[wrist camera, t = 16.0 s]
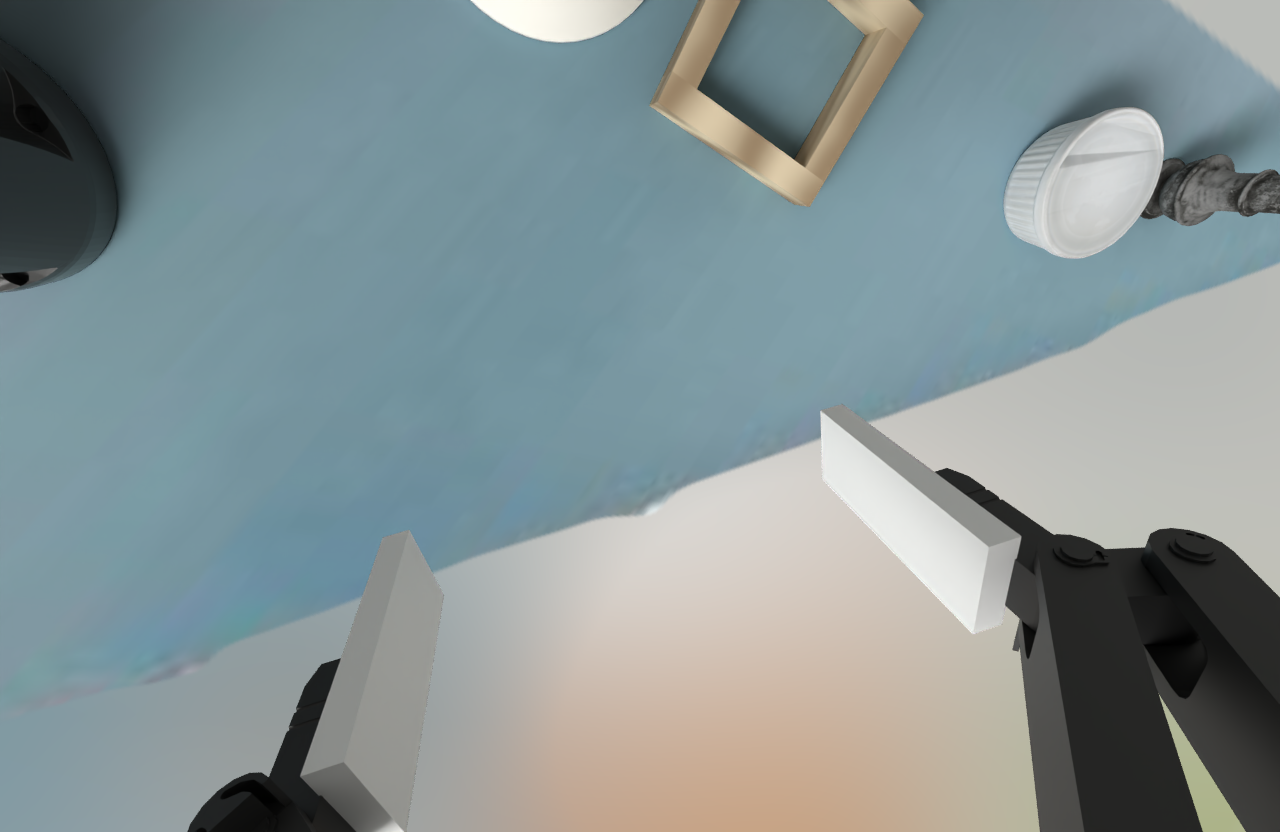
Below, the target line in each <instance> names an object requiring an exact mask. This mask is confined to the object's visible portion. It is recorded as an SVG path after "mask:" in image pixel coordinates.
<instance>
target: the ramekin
mask: <svg viewBox="0 0 1280 832" xmlns="http://www.w3.org/2000/svg"><path fill="white" fill-rule="evenodd" d="M1163 158H1164V142H1163V136H1162V133H1161V129H1160V127H1159V125H1158V123H1157V122H1156V120H1155V119H1154V118H1153V116H1151V115H1150V114H1149V113H1148V112H1146V111H1144V110H1142V109H1139V108H1135V107H1122V108H1114V109H1109V110H1106V111H1103V112H1101V113H1098V114H1096V115H1094V116H1092V117H1088V118H1084V119H1081V120H1078V121H1074V122H1070V123H1067V124H1063V125H1060V126H1058V127H1056V128H1054V129H1051V130H1050V131H1048V132H1047V133H1045V134H1043V135H1042V136H1041V137H1040V138H1038V139H1037V140H1036V141H1035V142H1034V143H1033V144H1032V145H1031V146H1030V147H1029V148H1028V149H1027V150H1026V151H1025V152H1024V153H1023V154H1022V156H1021V157H1020V158H1019V160H1018V161H1017V163H1016V165H1015V166H1014V168H1013V170H1012V172H1011V174H1010V177H1009V179H1008V182H1007V185H1006V189H1005V194H1004V214H1005V218H1006V221H1007V224H1008V226H1009V228H1010V230H1011V231H1012V232H1013V234H1015V235H1016V236H1017V237H1018V238H1020V239H1021V240H1023V241H1025V242H1028V243H1030V244H1033V245H1036V246H1038V247H1041V248H1044V249H1046V250H1047V251H1048V252H1050V253H1052V254H1054V255H1056V256H1059V257H1064V258H1073V259H1074V258H1084V257H1088V256H1091V255H1093V254H1096V253H1098V252H1100V251H1102V250H1104V249H1106V248H1107V247H1108V246H1111V245H1112V244H1114V243H1115V242H1116V241H1117V240H1118V239H1119V238H1121V237H1122V236H1123V235H1124V234H1125V233H1126V232H1127V230H1128V229H1129V228H1130V227H1131V226H1132V225H1133V224H1134V222H1135V221H1136V220H1137V219H1138V217H1139V216H1140V215H1141V213H1142V212H1143V210H1144V209H1145V207H1146V205H1147V204H1148V202H1149V200H1150V198H1151V196H1152V194H1153V192H1154V190H1155V187H1156V185H1157V182H1158V179H1159V176H1160V172H1161V168H1162V164H1163Z"/></svg>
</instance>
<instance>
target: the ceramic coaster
mask: <svg viewBox="0 0 1280 832" xmlns="http://www.w3.org/2000/svg"><path fill="white" fill-rule="evenodd" d="M470 1H471V2H472V3H473V4H474V5H475V6H477V7H478V8H479V9H480V10H481V11H482V12H484V13H485V14H486V15H487V16H489V17H490V18H491V19H493V20H494V21H495V22H497V23H499V24H500V25H502V26H504V27H506V28H507V29H509V30H511V31H513V32H515V33H518V34H520V35H523V36H525V37H528V38H531V39H535V40H539V41H543V42H552V43H572V42H579V41H584V40H588V39H592V38H594V37H597V36H599V35H601V34H604V33H606V32H608V31H609V30H611V29H613V28H614V27H616V26H618V25H619V24H620V23H621V22H623V21H624V20H625V19H626V18H627V17H629V16H630V15H631V14H632V13H633V12H634V11H635V10H636V8H637V7H638V6H639V5H640V4H641V3H642V2H643V0H470Z"/></svg>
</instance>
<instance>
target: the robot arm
mask: <svg viewBox="0 0 1280 832" xmlns="http://www.w3.org/2000/svg"><path fill="white" fill-rule="evenodd" d="M116 212H117V198H116V189H115V183H114V179H113V174H112V171H111V168H110V165H109V162H108V160H107V157H106V155H105V152H104V150H103V148H102V146H101V144H100V142H99V140H98V138H97V137H96V135H95V133H94V131H93V130H92V128H91V127H90V125H89V123H88V122H87V120H86V119H85V118H84V116H83V115H82V113H81V112H80V111H79V109H78V108H77V107H76V106H75V104H74V103H73V102H72V101H71V100H70V98H69V97H68V96H67V95H66V94H65V93H64V92H63V90H62V89H61V88H60V87H59V86H58V85H57V84H56V83H55V82H54V81H53V80H52V79H51V78H50V77H49V76H47V75H46V74H45V73H44V72H43V71H42V70H41V69H40V68H39V67H37V66H36V65H35V64H34V63H33V62H31V61H30V60H29V59H28V58H26V57H25V56H24V55H22V54H21V53H20V52H19V51H17V50H16V49H14V48H13V47H11V46H10V45H9V44H7V43H6V42H4V41H3V40H1V39H0V292H11V291H18V290H24V289H28V288H33V287H37V286H41V285H44V284H48V283H52V282H56V281H59V280H62V279H65V278H67V277H70V276H72V275H74V274H76V273H78V272H80V271H81V270H83V269H84V268H86V267H87V266H88V265H90V264H91V263H92V262H93V261H94V260H95V259H96V258H97V257H98V256H99V255H100V254H101V252H102V251H103V250H104V248H105V246H106V245H107V243H108V241H109V239H110V237H111V234H112V232H113V229H114V225H115V220H116ZM821 448H822V480H823V481H824V482H825V483H827V485H828V486H829V487H830V488H831V489H832V490H833V491H834V492H835V493H836V494H837V495H838V496H839V497H840V498H841V499H842V500H843V501H844V502H845V503H846V504H847V505H848V506H849V507H850V508H851V509H852V510H853V511H854V513H855V514H856V515H857V516H858V517H859V518H860V519H861V520H862V521H863V522H864V523H865V524H866V525H867V526H868V527H869V528H870V529H871V530H872V531H873V532H874V533H875V534H876V535H877V536H878V537H879V538H880V539H881V540H882V541H883V542H884V543H885V544H886V545H887V547H889V549H890V550H891V551H892V552H893V553H894V554H895V555H896V556H897V557H898V558H899V559H900V560H901V561H902V562H903V563H904V564H905V565H906V566H907V567H908V568H909V569H910V570H911V571H912V572H913V573H914V574H915V575H916V576H917V577H918V578H919V579H920V580H921V581H922V583H923V584H924V585H925V586H926V587H927V588H928V589H929V590H930V591H931V592H932V593H933V594H934V595H935V596H936V597H937V598H938V599H939V600H940V601H941V602H942V603H943V604H944V605H945V606H946V607H947V608H948V609H949V610H950V611H951V612H952V613H953V614H954V615H955V617H957V619H958V620H959V621H960V622H961V623H962V624H963V625H964V626H965V627H966V628H967V629H968V630H969V631H970V632H971V633H972V634H976V633H979V632H981V631H984V630H987V629H990V628H993V627H996V626H999V625H1002V622H1003V618H1004V614H1005V609H1006V606H1007V607H1008V608H1009V609H1010V610H1011V611H1012V612H1013V613H1014V614H1015V615H1017V616H1018V617H1019V618H1020V620H1019V624H1018V629H1017V633H1016V637H1015V641H1014V646H1013V650H1014V651H1019V647H1020V653H1021V662H1022V671H1023V680H1024V690H1025V699H1026V708H1027V716H1028V726H1029V735H1030V745H1031V754H1032V762H1033V771H1034V781H1035V790H1036V799H1037V808H1038V818H1039V827H1040V832H1203V831H1202V828H1201V825H1200V822H1199V819H1198V816H1197V812H1196V809H1195V806H1194V803H1193V800H1192V797H1191V794H1190V790H1189V787H1188V784H1187V781H1186V778H1185V775H1184V772H1183V769H1182V766H1181V762H1180V759H1179V756H1178V753H1177V750H1176V747H1175V744H1174V741H1173V738H1172V734H1171V731H1170V729H1169V725H1168V722H1167V719H1166V716H1165V713H1164V710H1163V707H1162V703H1161V701H1160V697H1159V695H1160V696H1161V698H1162V699H1163V701H1164V703H1165V704H1166V706H1167V707H1168V709H1169V710H1170V712H1171V714H1172V715H1173V717H1174V718H1175V720H1176V722H1177V723H1178V725H1179V726H1180V728H1181V729H1182V731H1183V733H1184V734H1185V736H1186V737H1187V739H1188V741H1189V742H1190V744H1191V745H1192V747H1193V749H1194V750H1195V752H1196V753H1197V754H1198V756H1199V758H1200V759H1201V761H1202V763H1203V764H1204V766H1205V767H1206V769H1207V770H1208V772H1209V774H1210V775H1211V777H1212V778H1213V780H1214V782H1215V783H1216V785H1217V786H1218V788H1219V790H1220V791H1221V793H1222V794H1223V796H1224V797H1225V799H1226V801H1227V802H1228V804H1229V805H1230V807H1231V809H1232V810H1233V812H1234V813H1235V815H1236V817H1237V818H1238V820H1239V821H1240V823H1241V824H1242V826H1243V828H1244V829H1245V831H1246V832H1280V597H1279V596H1278V595H1277V594H1276V593H1275V592H1273V590H1272V589H1271V588H1270V587H1269V586H1268V585H1267V584H1266V583H1265V582H1264V581H1263V580H1262V579H1261V578H1260V577H1259V576H1258V575H1257V574H1256V573H1255V572H1254V571H1253V570H1252V569H1251V568H1250V567H1249V566H1248V565H1247V564H1246V563H1245V562H1244V561H1243V560H1242V559H1241V558H1240V557H1239V556H1238V555H1237V554H1236V553H1235V552H1234V551H1232V550H1231V549H1230V548H1229V547H1227V546H1226V545H1224V544H1223V543H1222V542H1219V541H1218V540H1216V539H1213V538H1211V537H1209V536H1207V535H1204V534H1201V533H1197V532H1194V531H1190V530H1184V529H1174V528H1169V529H1159V530H1157V531H1155V532H1153V533H1151V534H1150V536H1149V539H1148V541H1147V544H1146V547H1145V548H1125V549H1104V548H1103V547H1101V546H1100V545H1098V544H1096V543H1094V542H1092V541H1090V540H1087V539H1085V538H1081V537H1077V536H1073V535H1061V534H1056V535H1053V534H1052V533H1050V532H1049V531H1047V530H1045V529H1044V528H1043V527H1041V526H1040V525H1039V524H1037V523H1036V522H1034V521H1033V520H1031V519H1030V518H1028V517H1027V516H1026V515H1024V514H1023V513H1021V512H1020V511H1018V510H1017V509H1015V508H1014V507H1012V506H1011V505H1010V504H1008V503H1007V502H1005V501H1004V500H1000V499H999V497H998V496H997V495H995V494H994V493H992V492H991V491H989V490H986V489H985V487H984V486H982V485H981V484H979V483H978V482H976V481H975V480H973V479H972V478H971V477H969V476H967V475H964V474H962V473H959V472H956V471H954V470H951V469H948V468H946V469H943V470H939V471H936V472H934V471H932V470H931V469H930V468H928V467H927V466H925V465H924V464H923V463H921V462H920V461H919V460H917V459H916V458H915V457H913V456H912V455H911V454H909V453H908V452H907V451H905V450H904V449H902V448H901V447H900V446H898V445H897V444H896V443H894V442H893V441H892V440H890V439H889V438H888V437H886V436H885V435H884V434H882V433H881V432H879V431H878V430H877V429H875V428H874V427H873V426H871V425H870V424H869V423H867V422H866V421H865V420H863V419H862V418H861V417H859V416H858V415H856V414H855V413H854V412H852V411H851V410H850V409H848V408H847V407H846V406H844V405H843V404H841V405H838V406H834V407H831V408H828V409H824V410H821ZM443 598H444V594H443V592H442V590H441V588H440V587H439V585H438V583H437V581H436V579H435V577H434V575H433V573H432V572H431V570H430V568H429V566H428V564H427V562H426V560H425V559H424V557H423V555H422V553H421V551H420V549H419V547H418V546H417V544H416V542H415V540H414V538H413V536H412V534H411V533H410V531H409V530H407V531H404V532H400V533H397V534H393V535H390V536H387V537H383V539H382V541H381V544H380V547H379V550H378V553H377V556H376V559H375V562H374V564H373V567H372V570H371V573H370V576H369V579H368V582H367V585H366V588H365V590H364V593H363V596H362V599H361V602H360V605H359V608H358V611H357V614H356V616H355V619H354V623H353V625H352V628H351V631H350V634H349V637H348V640H347V642H346V645H345V648H344V651H343V654H342V657H341V658H340V659H337V660H334V661H331V662H327V663H324V664H321V666H320V667H319V668H318V670H317V671H316V673H315V674H314V675H313V676H312V678H311V679H310V680H309V682H308V683H307V684H306V686H305V687H304V690H303V692H302V695H301V698H300V700H299V703H298V705H297V708H296V710H297V712H296V713H294V715H293V718H292V720H291V723H290V725H289V731H288V732H287V733H286V735H285V738H284V740H283V743H282V746H281V748H280V750H279V753H278V756H277V758H276V761H275V763H274V766H273V768H272V771H271V773H270V776H269V777H267V776H266V775H264V774H263V773H248V774H246V775H244V776H241V777H239V778H236V779H234V780H233V781H231V782H230V783H228V784H227V785H226V786H224V787H223V788H221V789H220V790H219V791H217V792H216V793H215V795H213V796H212V797H211V799H209V801H207V802H206V803H205V805H203V807H202V808H201V810H200V811H199V812H198V814H197V815H196V817H195V818H194V820H193V821H192V822H191V824H190V826H189V830H188V832H406V830H407V824H408V818H409V811H410V805H411V799H412V792H413V786H414V780H415V774H416V767H417V761H418V755H419V749H420V742H421V736H422V730H423V724H424V716H425V711H426V705H427V699H428V692H429V686H430V679H431V673H432V667H433V661H434V655H435V647H436V642H437V635H438V630H439V623H440V617H441V611H442V603H443ZM1158 693H1159V694H1158Z"/></svg>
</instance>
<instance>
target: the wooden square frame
mask: <svg viewBox="0 0 1280 832" xmlns="http://www.w3.org/2000/svg"><path fill="white" fill-rule="evenodd" d="M740 1H741V0H699V1H698V3H697V5H696V7H695V9H694V11H693V13H692V15H691V18H690V20H689V22H688V24H687V26H686V28H685V30H684V32H683V35H682V37H681V39H680V41H679V43H678V45H677V47H676V50H675V52H674V54H673V56H672V58H671V60H670V62H669V64H668V67H667V69H666V71H665V73H664V75H663V77H662V79H661V81H660V84H659V86H658V88H657V90H656V92H655V94H654V96H653V98H652V101H651V103H650V105H649V106H651V107H652V108H653V109H655V110H656V111H658V112H659V113H661V114H662V115H664V116H665V117H667V118H668V119H670V120H671V121H673V122H674V123H675V124H677V125H678V126H680V127H681V128H683V129H684V130H686V131H687V132H689V133H690V134H692V135H693V136H695V137H696V138H697V139H699V140H700V141H702V142H703V143H705V144H706V145H708V146H709V147H711V148H712V149H714V150H715V151H716V152H718V153H719V154H721V155H722V156H724V157H725V158H727V159H728V160H730V161H731V162H733V163H734V164H736V165H737V166H738V167H740V168H741V169H743V170H744V171H746V172H747V173H749V174H750V175H752V176H753V177H755V178H756V179H758V180H759V181H760V182H762V183H763V184H765V185H766V186H768V187H769V188H771V189H772V190H774V191H775V192H777V193H778V194H780V195H781V196H782V197H784V198H785V199H787V200H788V201H790V202H791V203H793V204H794V205H801V206H808V207H810V205H811V203H812V202H813V200H814V198H815V197H816V195H817V193H818V192H819V190H820V188H821V187H822V185H823V183H824V182H825V180H826V178H827V177H828V175H829V173H830V172H831V170H832V168H833V167H834V165H835V163H836V162H837V160H838V158H839V157H840V155H841V153H842V152H843V150H844V148H845V146H846V145H847V143H848V141H849V140H850V138H851V136H852V135H853V133H854V131H855V130H856V128H857V126H858V125H859V123H860V121H861V120H862V118H863V116H864V115H865V113H866V111H867V110H868V108H869V106H870V105H871V103H872V101H873V100H874V98H875V96H876V95H877V93H878V91H879V90H880V88H881V86H882V84H883V83H884V81H885V79H886V78H887V76H888V74H889V73H890V71H891V69H892V68H893V66H894V64H895V63H896V61H897V59H898V58H899V56H900V54H901V53H902V51H903V49H904V48H905V46H906V44H907V43H908V41H909V39H910V38H911V36H912V34H913V33H914V31H915V29H916V28H917V26H918V24H919V22H920V21H921V19H922V17H923V16H924V15H923V14H922V13H921V12H920V11H919V10H918V9H917V8H916V7H915V6H914V5H913V4H912V3H911V2H910V1H909V0H828V1H829V2H830V3H831V4H832V5H833V6H834V7H835V8H836V9H837V10H839V11H840V12H841V13H842V14H843V15H844V16H845V17H846V18H847V19H848V20H849V21H851V22H852V23H853V24H854V25H855V26H856V27H857V28H858V29H859V30H860V31H861V32H862V33H864V34H865V36H864V38H863V40H862V42H861V43H860V45H859V47H858V49H857V50H856V52H855V54H854V56H853V57H852V59H851V61H850V63H849V64H848V66H847V68H846V70H845V72H844V73H843V75H842V77H841V79H840V80H839V82H838V84H837V86H836V87H835V89H834V91H833V93H832V94H831V96H830V98H829V100H828V101H827V103H826V105H825V107H824V108H823V110H822V112H821V114H820V115H819V117H818V119H817V121H816V122H815V124H814V126H813V128H812V129H811V131H810V133H809V135H808V136H807V138H806V140H805V142H804V143H803V145H802V147H801V149H800V150H799V152H798V154H797V156H796V157H795V159H792V158H791V157H789V156H788V155H787V154H785V153H784V152H783V151H781V150H780V149H778V148H777V147H776V146H774V145H773V144H772V143H770V142H769V141H767V140H766V139H765V138H763V137H762V136H761V135H759V134H758V133H756V132H755V131H754V130H752V129H751V128H750V127H748V126H747V125H745V124H744V123H743V122H741V121H740V120H739V119H737V118H736V117H734V116H733V115H732V114H730V113H729V112H728V111H726V110H725V109H723V108H722V107H721V106H719V105H718V104H717V103H715V102H714V101H712V100H711V99H710V98H708V97H707V96H706V95H704V94H703V93H701V92H700V91H699V90H697V88H698V86H699V84H700V82H701V80H702V78H703V76H704V74H705V72H706V70H707V68H708V65H709V63H710V61H711V59H712V57H713V55H714V53H715V51H716V49H717V47H718V45H719V43H720V41H721V39H722V37H723V35H724V33H725V31H726V29H727V27H728V25H729V23H730V21H731V19H732V17H733V15H734V13H735V11H736V9H737V7H738V5H739V3H740Z"/></svg>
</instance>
